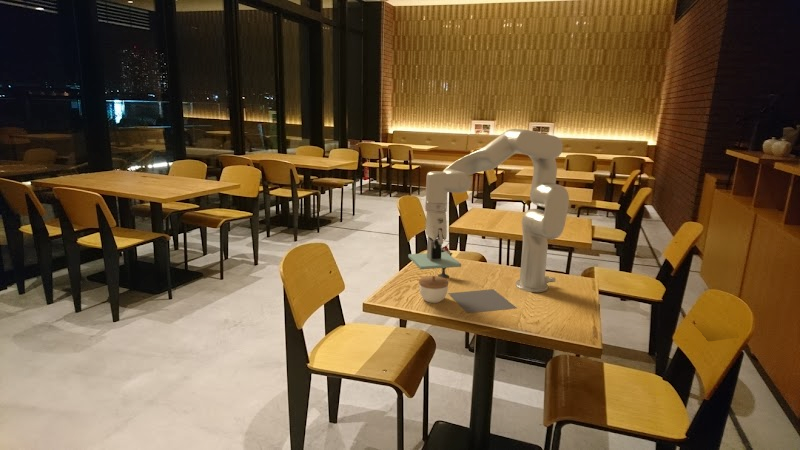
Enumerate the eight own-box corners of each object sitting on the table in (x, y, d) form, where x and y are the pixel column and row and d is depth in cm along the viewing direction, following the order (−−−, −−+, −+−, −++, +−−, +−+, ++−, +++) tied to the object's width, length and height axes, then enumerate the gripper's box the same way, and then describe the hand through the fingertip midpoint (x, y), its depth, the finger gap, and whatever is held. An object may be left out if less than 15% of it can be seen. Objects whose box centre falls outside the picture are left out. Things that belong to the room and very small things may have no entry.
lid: (446, 254, 180) (446, 234, 179) (461, 266, 166) (462, 244, 164) (408, 256, 176) (408, 236, 175) (420, 269, 162) (421, 247, 161)
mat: (493, 290, 186) (493, 289, 186) (517, 309, 168) (517, 308, 168) (447, 294, 181) (447, 293, 181) (467, 314, 163) (467, 313, 163)
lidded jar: (446, 307, 169) (447, 282, 167) (416, 304, 171) (416, 280, 169) (449, 296, 179) (450, 272, 177) (421, 294, 181) (421, 270, 179)
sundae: (452, 279, 198) (453, 244, 194) (436, 278, 198) (437, 244, 194) (450, 274, 204) (452, 240, 201) (435, 273, 204) (436, 240, 201)
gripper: (454, 211, 160) (452, 263, 164) (438, 202, 176) (436, 249, 180) (433, 211, 158) (431, 264, 162) (418, 202, 174) (417, 250, 178)
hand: (434, 256), depth 171 cm, fingers closed on lid, 4 cm apart
